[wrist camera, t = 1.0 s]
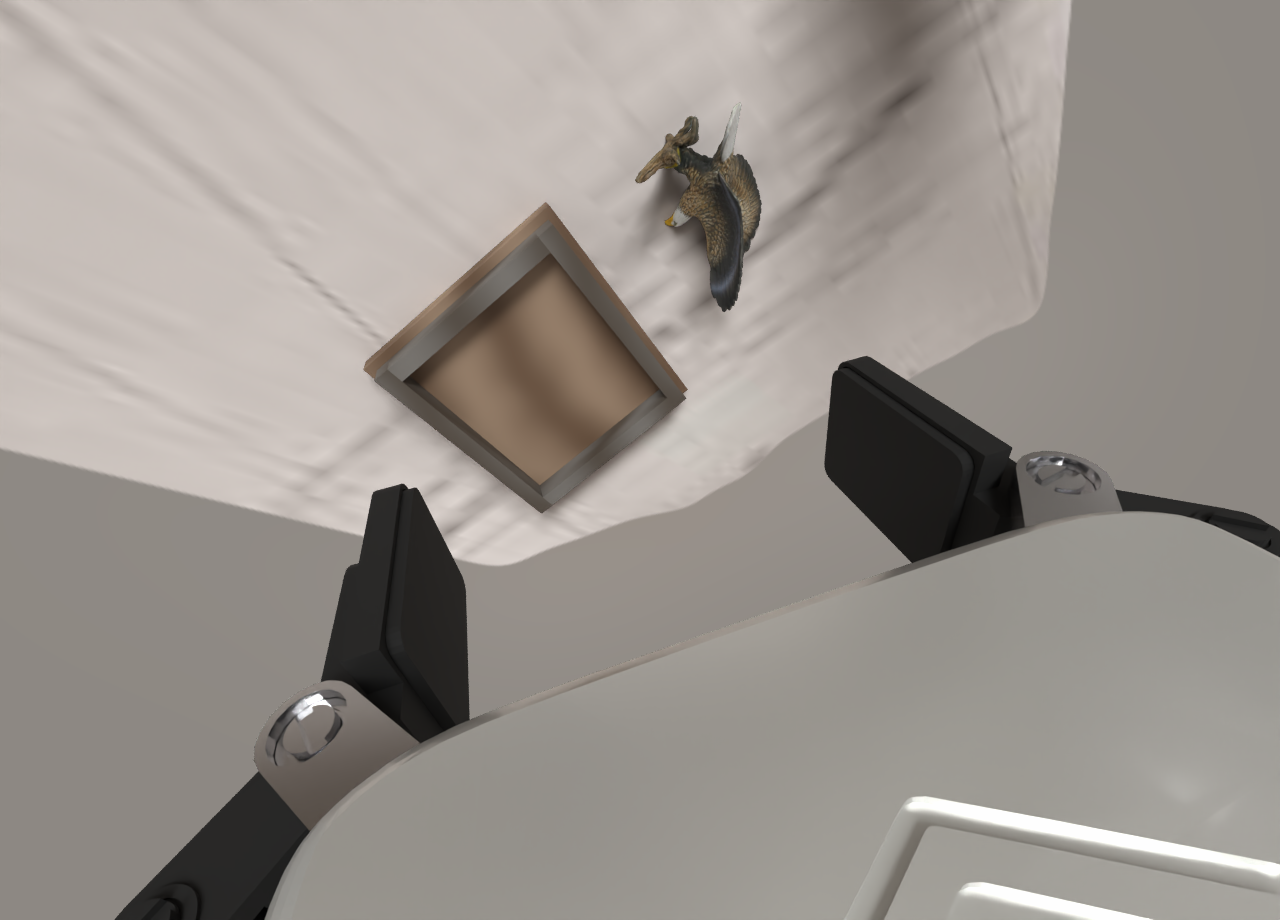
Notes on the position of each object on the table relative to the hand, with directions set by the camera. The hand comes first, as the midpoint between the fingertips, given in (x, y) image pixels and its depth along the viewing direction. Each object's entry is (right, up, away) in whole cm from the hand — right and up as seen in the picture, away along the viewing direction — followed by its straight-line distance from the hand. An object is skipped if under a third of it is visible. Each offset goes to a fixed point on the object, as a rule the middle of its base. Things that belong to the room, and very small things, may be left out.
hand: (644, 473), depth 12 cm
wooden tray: (-7, +6, +23) cm, 25 cm away
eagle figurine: (+3, +16, +21) cm, 26 cm away
